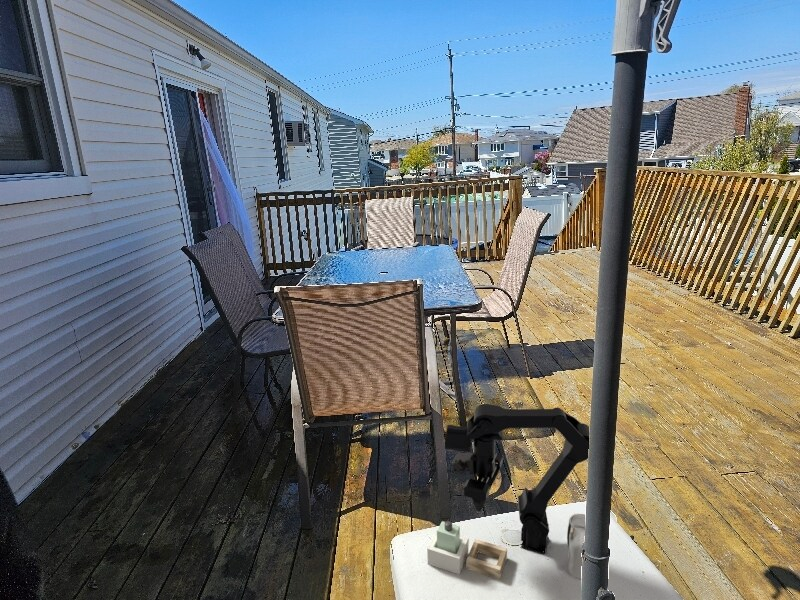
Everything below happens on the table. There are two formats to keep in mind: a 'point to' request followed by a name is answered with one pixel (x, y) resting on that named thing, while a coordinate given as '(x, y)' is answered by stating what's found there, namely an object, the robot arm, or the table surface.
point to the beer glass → (575, 544)
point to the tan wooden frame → (482, 565)
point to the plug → (448, 537)
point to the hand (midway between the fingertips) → (483, 500)
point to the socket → (448, 555)
